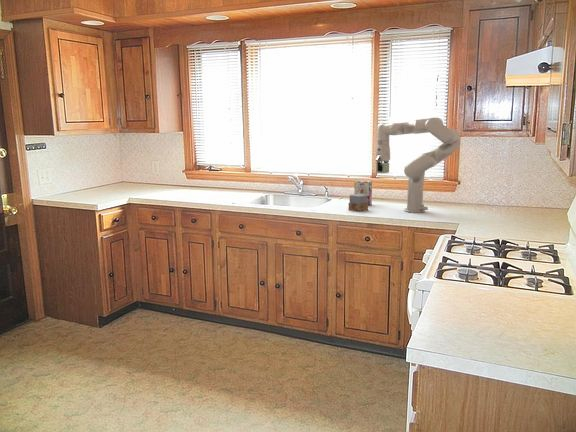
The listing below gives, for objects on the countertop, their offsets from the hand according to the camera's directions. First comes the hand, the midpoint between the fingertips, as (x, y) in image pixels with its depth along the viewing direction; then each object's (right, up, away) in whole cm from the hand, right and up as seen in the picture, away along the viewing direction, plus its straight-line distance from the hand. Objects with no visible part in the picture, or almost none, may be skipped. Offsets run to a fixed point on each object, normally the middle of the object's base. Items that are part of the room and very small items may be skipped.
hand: (382, 170), depth 330 cm
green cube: (0, -1, 0) cm, 1 cm away
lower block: (-16, -26, -1) cm, 31 cm away
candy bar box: (-10, -22, +19) cm, 31 cm away
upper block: (-16, -21, -2) cm, 27 cm away
